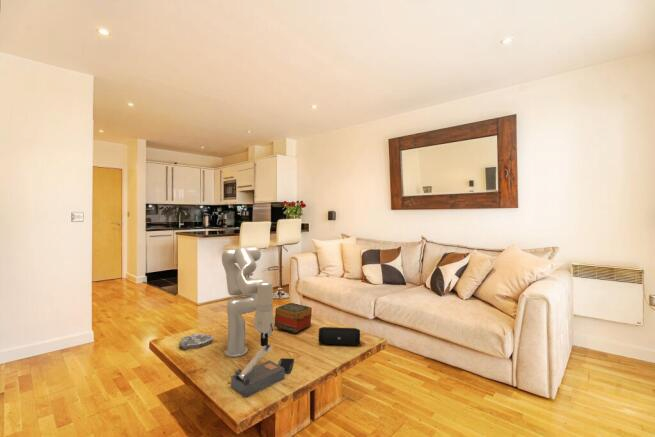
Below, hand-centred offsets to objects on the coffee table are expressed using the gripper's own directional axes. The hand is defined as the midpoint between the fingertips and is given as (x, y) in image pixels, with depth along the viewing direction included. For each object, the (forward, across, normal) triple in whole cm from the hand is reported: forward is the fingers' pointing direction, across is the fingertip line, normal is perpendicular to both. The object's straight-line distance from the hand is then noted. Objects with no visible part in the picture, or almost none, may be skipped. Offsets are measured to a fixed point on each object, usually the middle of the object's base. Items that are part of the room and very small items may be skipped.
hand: (264, 345), depth 148 cm
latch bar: (+7, 0, -5) cm, 8 cm away
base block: (+17, 0, -3) cm, 17 cm away
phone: (+18, -3, +16) cm, 24 cm away
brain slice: (+18, -65, -4) cm, 68 cm away
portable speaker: (+18, -1, +58) cm, 61 cm away
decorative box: (+17, -41, +55) cm, 71 cm away
